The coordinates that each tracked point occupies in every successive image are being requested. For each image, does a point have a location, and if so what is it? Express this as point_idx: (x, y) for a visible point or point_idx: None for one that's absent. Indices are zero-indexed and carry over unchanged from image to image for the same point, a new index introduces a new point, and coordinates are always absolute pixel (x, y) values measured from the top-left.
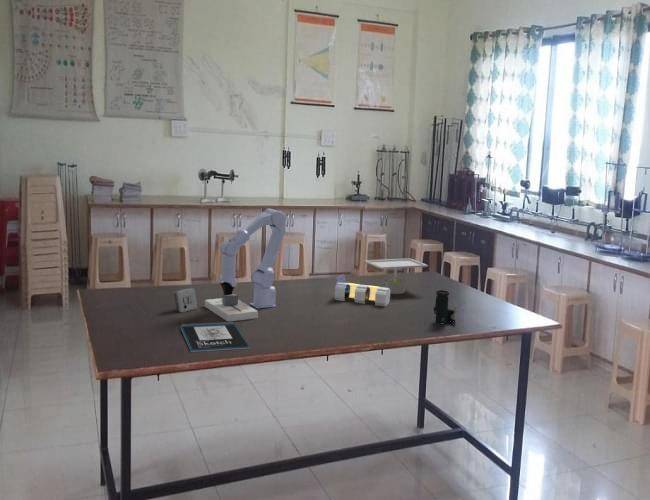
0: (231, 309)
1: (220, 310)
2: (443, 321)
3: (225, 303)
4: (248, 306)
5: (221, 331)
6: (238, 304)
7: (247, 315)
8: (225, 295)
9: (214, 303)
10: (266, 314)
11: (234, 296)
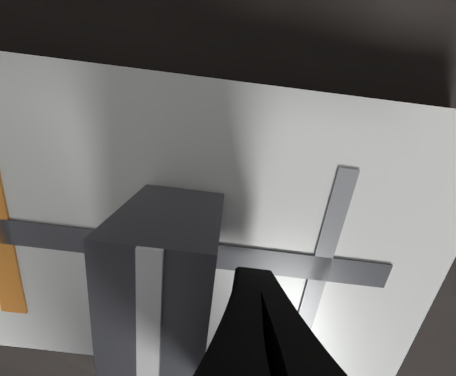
0: (14, 179)
1: (23, 54)
2: None
3: (136, 196)
4: (76, 344)
5: None
6: None
7: None
8: (153, 278)
9: (314, 138)
10: (48, 363)
11: (101, 362)
